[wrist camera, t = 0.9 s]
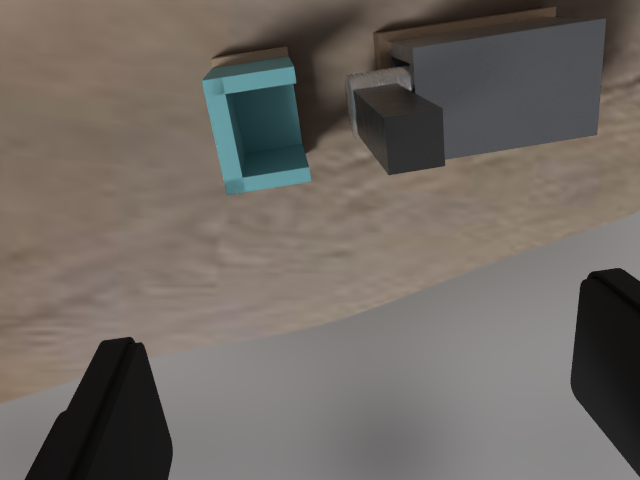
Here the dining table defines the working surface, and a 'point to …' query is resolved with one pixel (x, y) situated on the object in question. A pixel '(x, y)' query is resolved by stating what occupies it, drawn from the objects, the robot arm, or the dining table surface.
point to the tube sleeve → (504, 76)
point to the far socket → (256, 120)
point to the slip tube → (395, 120)
